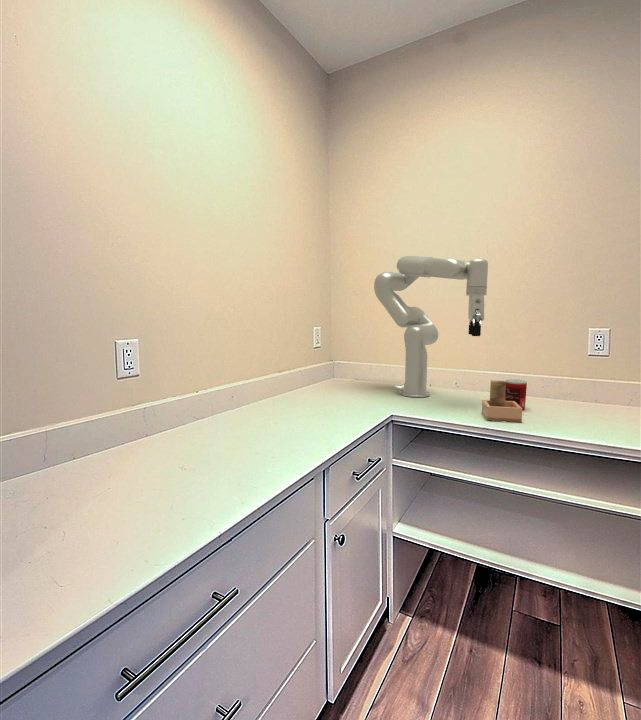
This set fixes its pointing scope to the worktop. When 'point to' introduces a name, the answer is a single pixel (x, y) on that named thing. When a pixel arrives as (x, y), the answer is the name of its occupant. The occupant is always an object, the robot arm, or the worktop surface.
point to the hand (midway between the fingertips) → (474, 335)
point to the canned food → (516, 391)
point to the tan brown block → (497, 393)
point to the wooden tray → (502, 412)
